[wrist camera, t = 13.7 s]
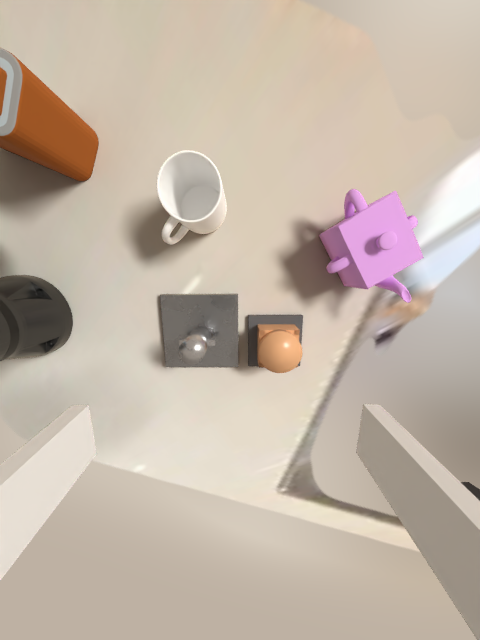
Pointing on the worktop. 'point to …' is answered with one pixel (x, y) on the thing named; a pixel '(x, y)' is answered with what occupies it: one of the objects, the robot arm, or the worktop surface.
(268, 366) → the cap
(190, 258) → the worktop surface
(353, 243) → the teapot
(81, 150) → the orange rounded block
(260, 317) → the pad
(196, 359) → the post fixture
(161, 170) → the cup
